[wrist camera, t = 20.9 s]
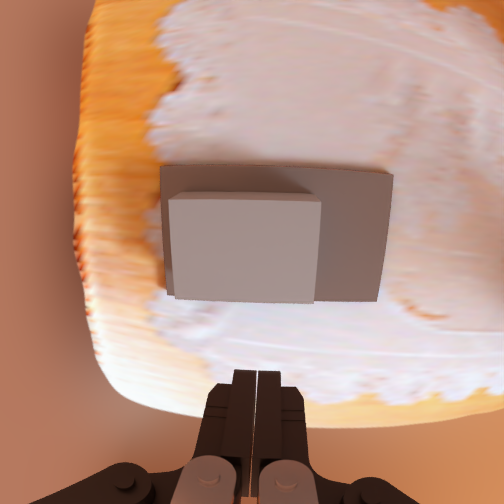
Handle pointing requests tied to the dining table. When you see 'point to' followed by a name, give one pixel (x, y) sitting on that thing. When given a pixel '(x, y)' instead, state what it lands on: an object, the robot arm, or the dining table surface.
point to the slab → (245, 246)
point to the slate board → (331, 223)
